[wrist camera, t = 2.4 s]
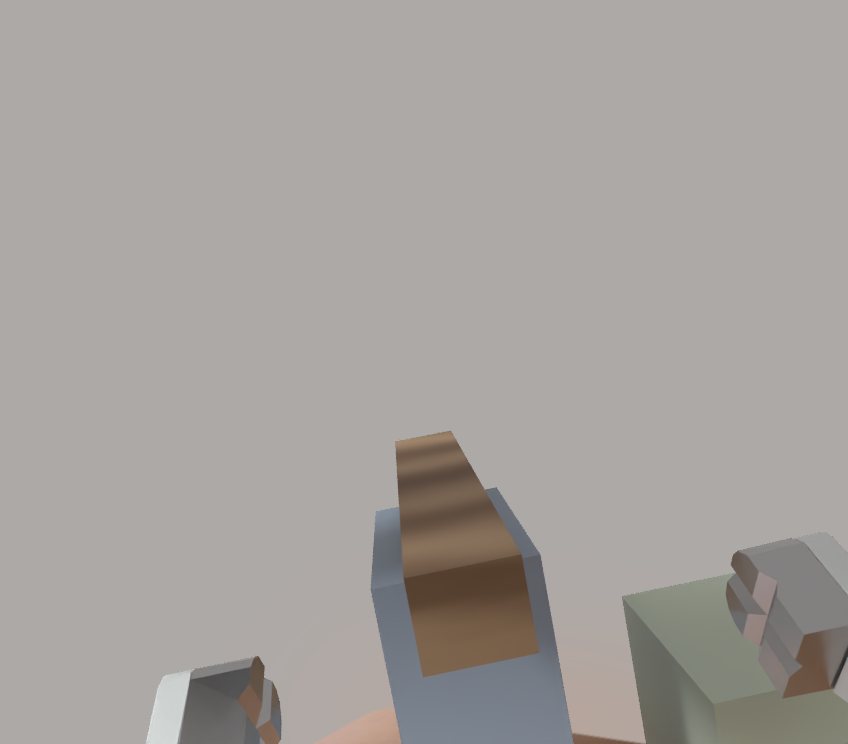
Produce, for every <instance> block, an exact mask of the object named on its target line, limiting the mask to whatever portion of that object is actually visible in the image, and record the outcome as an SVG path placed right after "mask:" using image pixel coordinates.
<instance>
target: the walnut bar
mask: <svg viewBox="0 0 848 744" xmlns="http://www.w3.org/2000/svg"><path fill="white" fill-rule="evenodd" d="M395 445H396V462H397V478H398V495H399V512H400V529H401V545H402V562H403V579H404V584H405V589H406V594H407V599H408V604H409V609H410V614H411V619H412V624H413V629H414V634H415V640H416V645H417V650H418V655H419V660H420V665H421V670H422V675H423V678H424V677H428V676H433V675H438V674H442V673H447V672H452V671H457V670H461V669H466V668H471V667H476V666H480V665H485V664H490V663H494V662H499V661H504V660H509V659H513V658H518V657H523V656H527V655H532V654H537V653H539V649H538V644H537V638H536V632H535V627H534V621H533V616H532V610H531V604H530V599H529V593H528V588H527V582H526V576H525V571H524V565H523V560H522V554H521V552H520V551H519V549H518V547H517V545H516V544H515V542H514V540H513V538H512V537H511V535H510V533H509V532H508V530H507V528H506V526H505V525H504V523H503V521H502V519H501V518H500V516H499V514H498V512H497V511H496V509H495V507H494V505H493V504H492V502H491V500H490V498H489V497H488V495H487V493H486V491H485V490H484V488H483V486H482V484H481V483H480V481H479V479H478V477H477V476H476V474H475V472H474V470H473V469H472V467H471V465H470V464H469V462H468V460H467V458H466V457H465V455H464V453H463V451H462V450H461V448H460V446H459V444H458V443H457V441H456V439H455V437H454V436H453V434H452V432H451V431H448V432H442V433H437V434H432V435H427V436H422V437H416V438H411V439H406V440H401V441H396V442H395Z"/></svg>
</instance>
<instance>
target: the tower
mask: <svg viewBox="0 0 848 744" xmlns="http://www.w3.org/2000/svg"><path fill="white" fill-rule="evenodd" d="M485 491H486V493H487V495H488V497H489V498H490V500H491V502H492V504H493V505H494V507H495V509H496V511H497V512H498V514H499V516H500V518H501V519H502V521H503V523H504V525H505V526H506V528H507V530H508V532H509V533H510V535H511V537H512V538H513V540H514V542H515V544H516V545H517V547H518V549H519V551H520V552H521V554H522V560H523V565H524V571H525V576H526V582H527V588H528V593H529V599H530V604H531V610H532V616H533V621H534V627H535V632H536V638H537V644H538V649H539V653H537V654H532V655H527V656H523V657H518V658H513V659H509V660H504V661H499V662H494V663H490V664H485V665H480V666H476V667H471V668H466V669H461V670H457V671H452V672H447V673H442V674H438V675H433V676H428V677H424V678H423V675H422V670H421V665H420V660H419V655H418V650H417V645H416V640H415V634H414V629H413V624H412V619H411V614H410V609H409V604H408V599H407V594H406V589H405V584H404V579H403V562H402V545H401V529H400V512H399V507H396V508H391V509H386V510H381V511H376V516H375V532H374V548H373V564H372V578H371V593H372V598H373V603H374V608H375V613H376V618H377V623H378V628H379V632H380V637H381V642H382V647H383V652H384V658H385V662H386V667H387V672H388V676H389V682H390V687H391V692H392V697H393V702H394V707H395V712H396V717H397V722H398V727H399V732H400V737H401V742H402V744H574V743H573V737H572V731H571V726H570V720H569V714H568V709H567V703H566V697H565V692H564V686H563V681H562V675H561V669H560V663H559V658H558V652H557V646H556V641H555V635H554V629H553V624H552V618H551V612H550V607H549V601H548V595H547V590H546V584H545V579H544V573H543V567H542V561H541V556H540V553H539V552H538V550H537V549H536V547H535V546H534V544H533V543H532V541H531V540H530V538H529V537H528V535H527V534H526V532H525V530H524V529H523V527H522V526H521V524H520V523H519V521H518V520H517V518H516V517H515V515H514V514H513V512H512V510H511V509H510V508H509V506H508V504H507V503H506V501H505V500H504V498H503V497H502V495H501V494H500V492H499V491H498V489H497V488H491V489H486V490H485Z"/></svg>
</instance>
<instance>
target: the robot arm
mask: <svg viewBox="0 0 848 744" xmlns="http://www.w3.org/2000/svg"><path fill="white" fill-rule="evenodd" d="M731 566H732V567H733V569H734V570H735V572H736V573H735V574H734V575H733V576H732V577H731V578H730V579H729V580H728V581H727V587H726V599H727V603H728V608H729V611H730V613H731V616H732V618H733V620H734V622H735V624H736V626H737V627H738V629H739V631H740V632H741V634H742V636H743V637H745V638H747V639H748V640H750V641H752V642H753V643H755V644H756V645H758V646H759V655H758V661H759V663H760V665H761V666H762V668H763V669H764V671H765V673H766V674H767V676H768V677H769V679H770V680H771V682H772V684H773V685H774V687H775V688H776V690H777V692H778V693H779V695H780V696H781V698H782V699H784V698H789V697H794V696H799V695H804V694H809V693H814V692H819V691H824V690H829V689H834V690H833V692H834V693H835V694H837V695H838V696H839V697H841V698H842V699H843V700H845V701H846V702H847V703H848V553H847V552H846V551H845V549H844V548H843V547H842V546H841V545H840V544H839V543H838V542H837V541H836V539H835V538H834V537H833V536H831V535H829V534H827V533H815V534H811V535H806V536H802V537H798V538H793V539H792V538H790V539H786V540H781V541H777V542H773V543H769V544H764V545H761V546H756V547H752V548H748V549H743V550H739V551H737V552H736V553H735V554H734V555H733V557H732V562H731ZM280 740H281V711H280V701H279V698H278V694H277V690H276V688H275V686H274V684H273V682H272V681H270V680H268V679H265V678H264V665H263V663H262V662H261V660H260V658H259V657H258V656H255V657H251V658H246V659H241V660H237V661H232V662H227V663H222V664H217V665H213V666H208V667H203V668H199V669H198V668H196V669H191V670H187V671H182V672H178V673H174V674H169V675H165V676H164V677H163V679H162V681H161V683H160V684H159V687H158V689H157V694H156V699H155V703H154V708H153V713H152V717H151V722H150V727H149V731H148V736H147V741H146V744H278V743H279V741H280Z"/></svg>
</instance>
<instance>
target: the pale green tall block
mask: <svg viewBox="0 0 848 744" xmlns="http://www.w3.org/2000/svg"><path fill="white" fill-rule="evenodd" d="M734 574H735V573H732V574H727V575H723V576H718V577H713V578H708V579H703V580H699V581H693V582H689V583H684V584H679V585H675V586H669V587H665V588H660V589H655V590H650V591H646V592H641V593H636V594H631V595H627V596H622V599H623V606H624V611H625V617H626V624H627V630H628V636H629V641H630V648H631V654H632V660H633V666H634V672H635V678H636V684H637V690H638V696H639V702H640V708H641V714H642V720H643V727H644V733H645V738H646V744H848V703H847V702H846V701H845V700H843V699H842V698H841V697H839V696H838V695H837V694H835V693H834V692H833V690H834V689H829V690H824V691H819V692H814V693H809V694H804V695H799V696H794V697H789V698H784V699H782V698H781V696H780V695H779V693H778V692H777V690H776V688H775V687H774V685H773V684H772V682H771V680H770V679H769V677H768V676H767V674H766V673H765V671H764V669H763V668H762V666H761V665H760V663H759V661H758V655H759V646H758V645H756V644H755V643H753V642H752V641H750V640H748V639H747V638H745V637H743V636H742V634H741V632H740V631H739V629H738V627H737V626H736V624H735V622H734V620H733V618H732V616H731V613H730V611H729V608H728V603H727V599H726V587H727V581H728V580H729V579H730V578H731V577H732V576H733V575H734Z"/></svg>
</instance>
